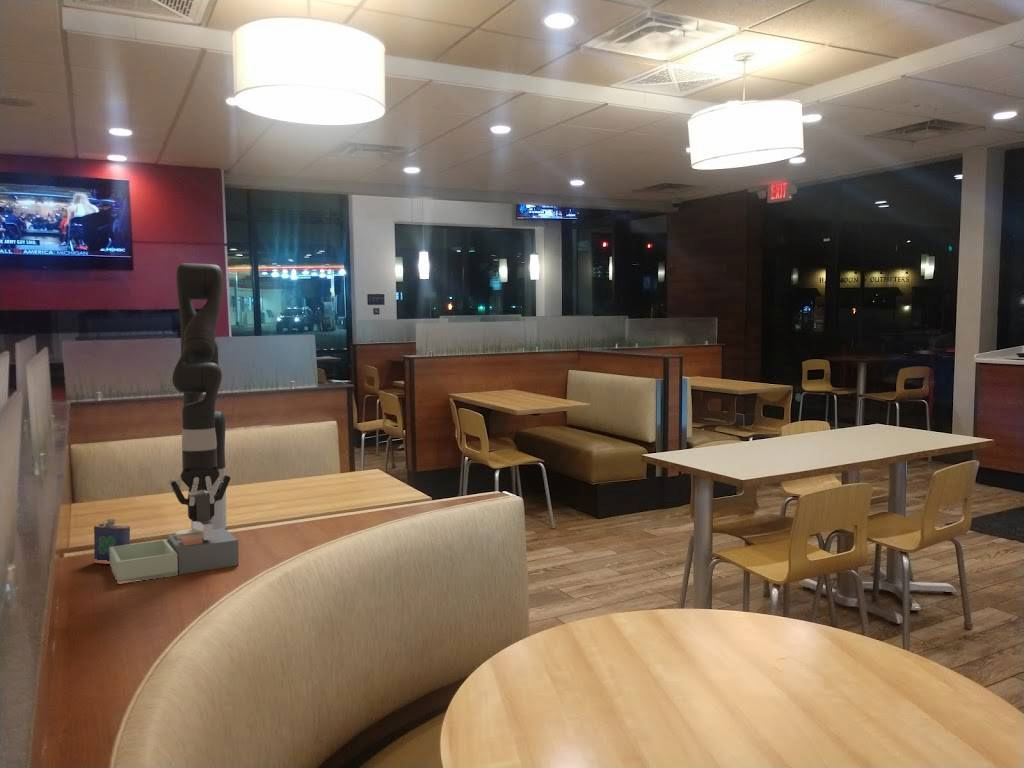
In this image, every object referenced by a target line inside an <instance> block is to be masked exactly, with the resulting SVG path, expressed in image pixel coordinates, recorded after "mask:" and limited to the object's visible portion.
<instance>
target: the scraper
mask: <svg viewBox="0 0 1024 768" xmlns="http://www.w3.org/2000/svg"><path fill="white" fill-rule="evenodd" d="M194 505H195V506H196V521H194V522H193V530H194V531H195V532H196V534H197V535H200V536H201V537H202V538H203V540H208V539H213V524H212V523H211V522H210V521H208V520H210V495H208V494H206V493H203V494H196V496H195V504H194Z"/></svg>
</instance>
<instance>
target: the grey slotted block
mask: <svg viewBox="0 0 1024 768" xmlns="http://www.w3.org/2000/svg"><path fill="white" fill-rule="evenodd" d="M196 535H197V534H196ZM166 536H167V541H168V543H169V544H170V545H171V546H172V548H173V549H174V550H175V551H176V552H177V559H178V576H179V575H186V574H192V573H198V572H205V571H211V570H217V569H218V570H219V569H223V568H230V567H235V566H239V562H240V560H239V539H238V538H237V537H235V536H234V535H233V534H232V533H230V531H228V530H227V528H220V529H213V539H208V540H203V543H201V544H194V545H187V546H184V545H183V544H182V543H181V539H177V538H176V537H175V534H169V535H166Z"/></svg>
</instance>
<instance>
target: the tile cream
mask: <svg viewBox="0 0 1024 768" xmlns="http://www.w3.org/2000/svg"><path fill="white" fill-rule="evenodd" d="M174 535H175V537H176V538H177V539H181V538H180V537H184V536H192V535H196V532H195V531H194V530H193V529H191V528H187V529H181V530H174Z"/></svg>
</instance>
